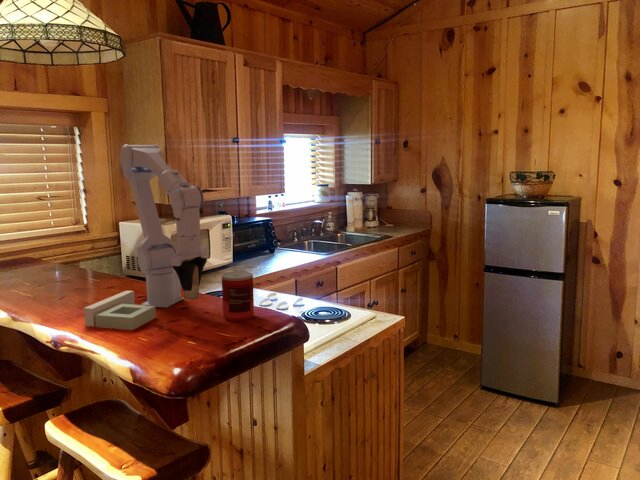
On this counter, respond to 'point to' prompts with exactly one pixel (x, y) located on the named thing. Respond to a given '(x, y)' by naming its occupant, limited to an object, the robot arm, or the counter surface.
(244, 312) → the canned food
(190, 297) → the dowel
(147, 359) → the counter surface
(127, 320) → the socket block
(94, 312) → the wall board
